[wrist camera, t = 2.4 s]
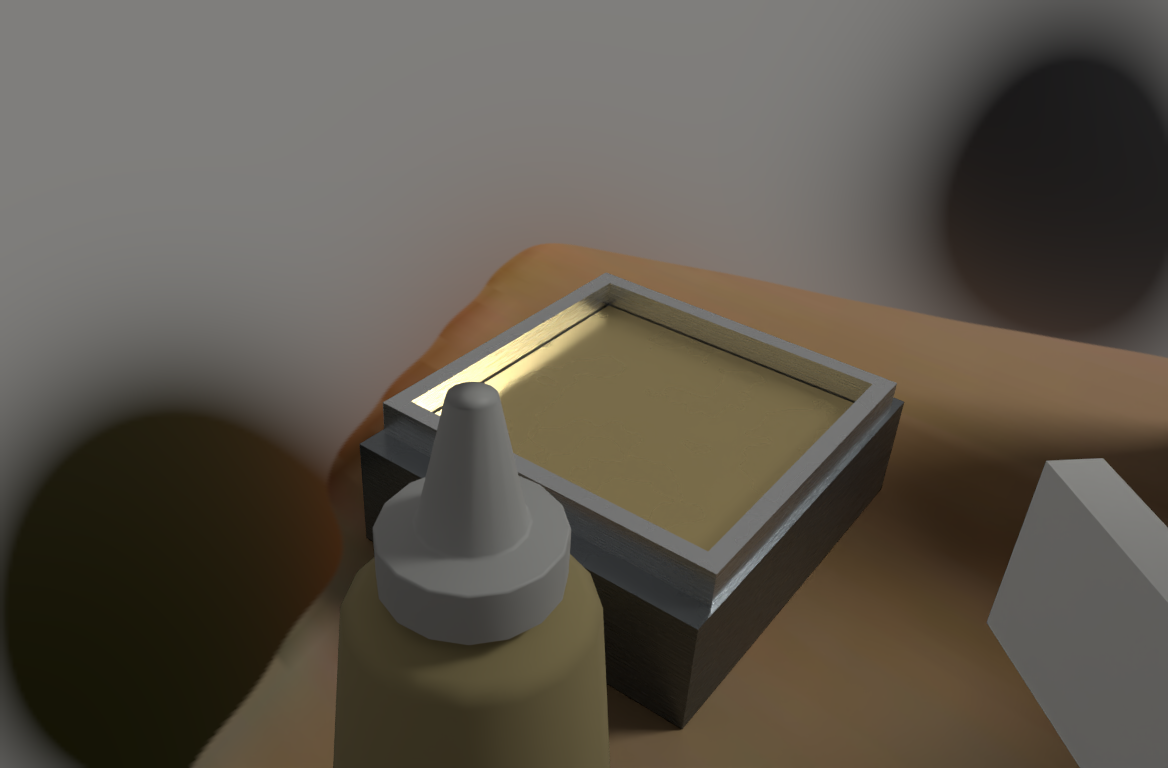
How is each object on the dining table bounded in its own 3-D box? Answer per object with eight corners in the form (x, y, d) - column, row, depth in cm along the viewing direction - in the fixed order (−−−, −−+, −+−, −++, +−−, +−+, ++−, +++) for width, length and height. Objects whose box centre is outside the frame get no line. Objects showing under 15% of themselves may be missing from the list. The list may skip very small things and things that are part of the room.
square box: (607, 370, 58) (616, 263, 54) (881, 488, 50) (911, 373, 47) (366, 537, 45) (357, 413, 42) (682, 729, 38) (703, 596, 34)
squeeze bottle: (284, 884, 32) (201, 390, 22) (479, 730, 37) (481, 274, 28) (464, 1086, 28) (459, 582, 18) (657, 879, 33) (734, 401, 23)
